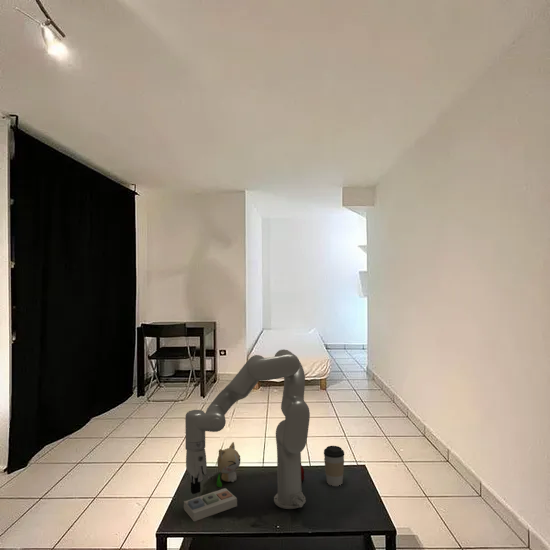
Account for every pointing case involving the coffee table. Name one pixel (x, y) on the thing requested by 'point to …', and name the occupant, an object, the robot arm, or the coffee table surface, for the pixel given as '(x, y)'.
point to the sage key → (210, 498)
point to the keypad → (210, 506)
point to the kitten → (228, 464)
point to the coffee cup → (334, 465)
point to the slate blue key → (195, 503)
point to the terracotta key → (224, 495)
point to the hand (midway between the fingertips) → (195, 492)
